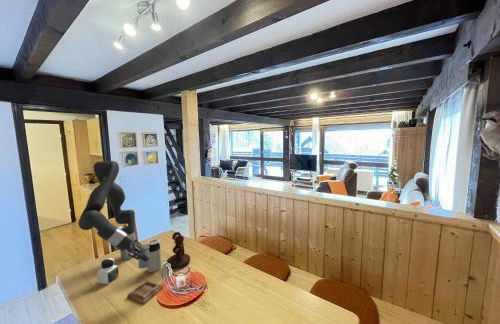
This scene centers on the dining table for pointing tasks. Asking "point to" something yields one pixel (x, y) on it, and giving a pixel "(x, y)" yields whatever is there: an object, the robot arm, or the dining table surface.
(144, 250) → the blue-grey dome-topped cylinder
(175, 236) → the scroll
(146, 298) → the walnut socket
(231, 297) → the dining table surface
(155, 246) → the travel mug
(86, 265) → the dining table surface
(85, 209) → the robot arm
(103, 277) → the medicine bottle
